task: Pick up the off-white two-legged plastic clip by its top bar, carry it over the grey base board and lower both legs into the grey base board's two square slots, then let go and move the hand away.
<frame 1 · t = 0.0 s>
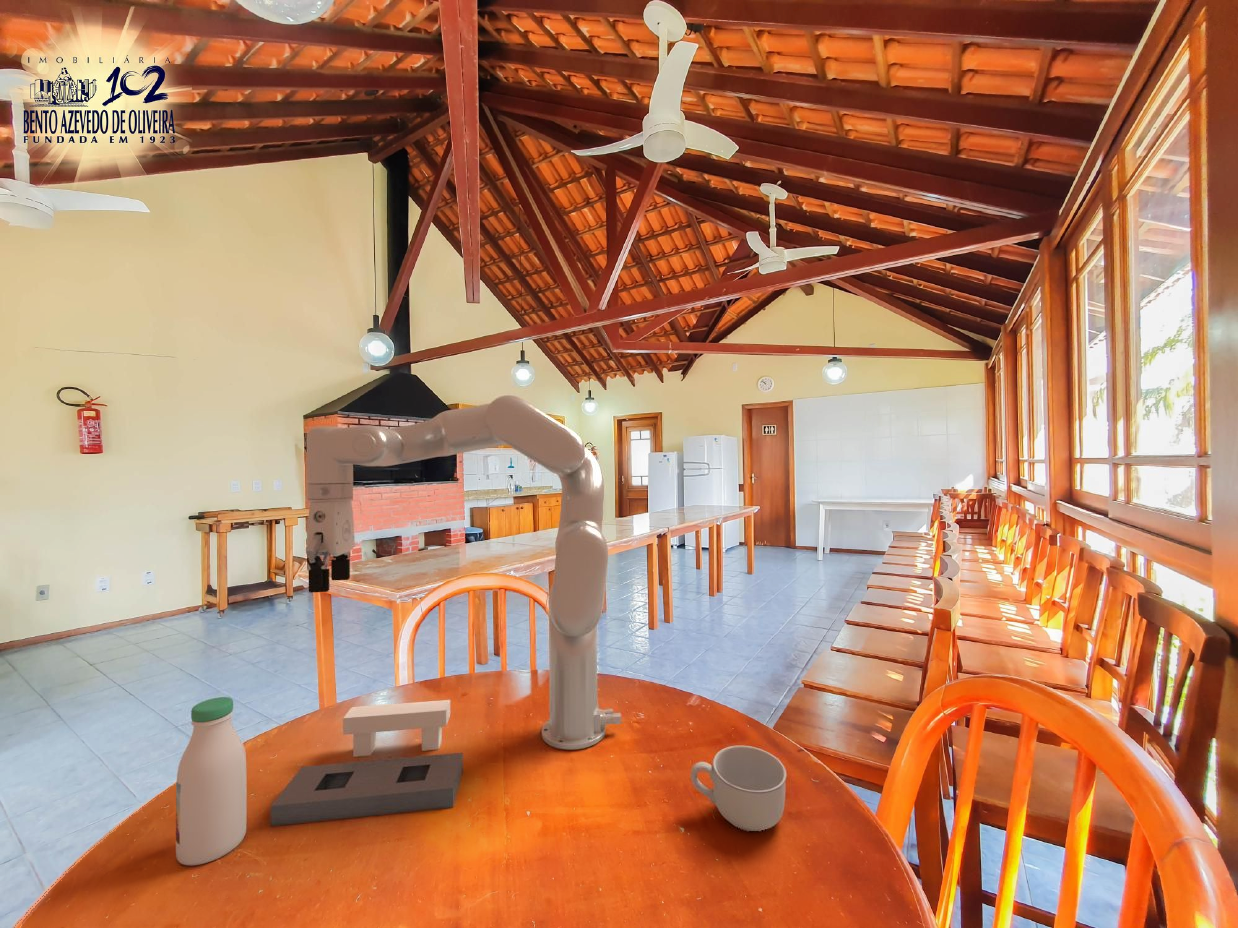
hand: (330, 585, 94), 31 cm above the table, tool pointing down, fingers open, 9 cm apart
teacup: (738, 817, 77), on the table
grey base board: (374, 795, 82), on the table
milk bottle: (212, 847, 71), on the table
clip: (398, 748, 96), on the table
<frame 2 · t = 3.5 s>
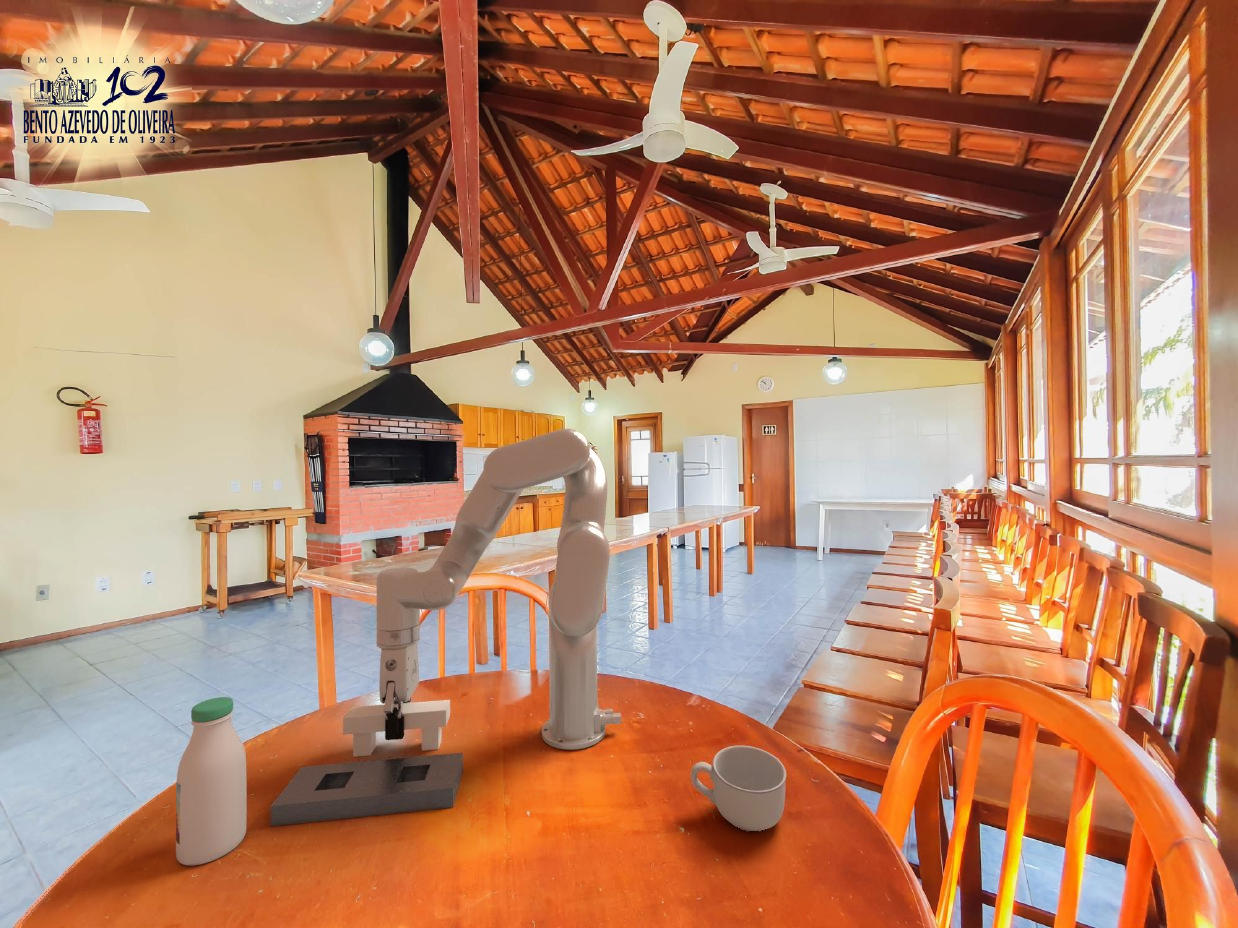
hand: (398, 730, 96), 3 cm above the table, tool pointing down, fingers closed on clip, 4 cm apart
clip: (398, 748, 96), on the table, touching gripper
everything else where it was.
when the fingers open (5 cm above the table, at t = 9.0 s): clip drops 1 cm, resting in grey base board.
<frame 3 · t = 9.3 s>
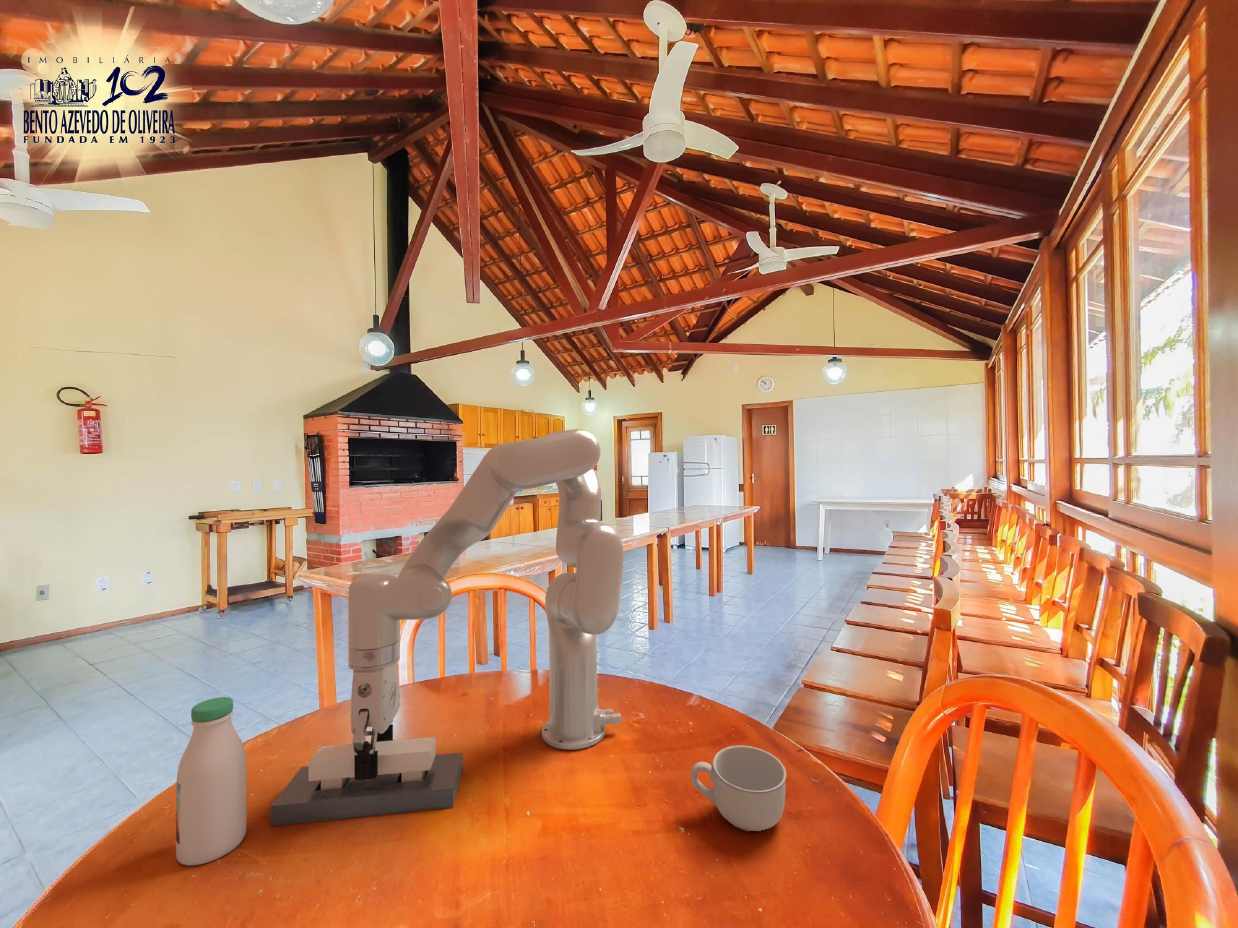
hand: (374, 762, 82), 5 cm above the table, tool pointing down, fingers open, 7 cm apart
clip: (374, 795, 82), resting in grey base board
everything else where it was.
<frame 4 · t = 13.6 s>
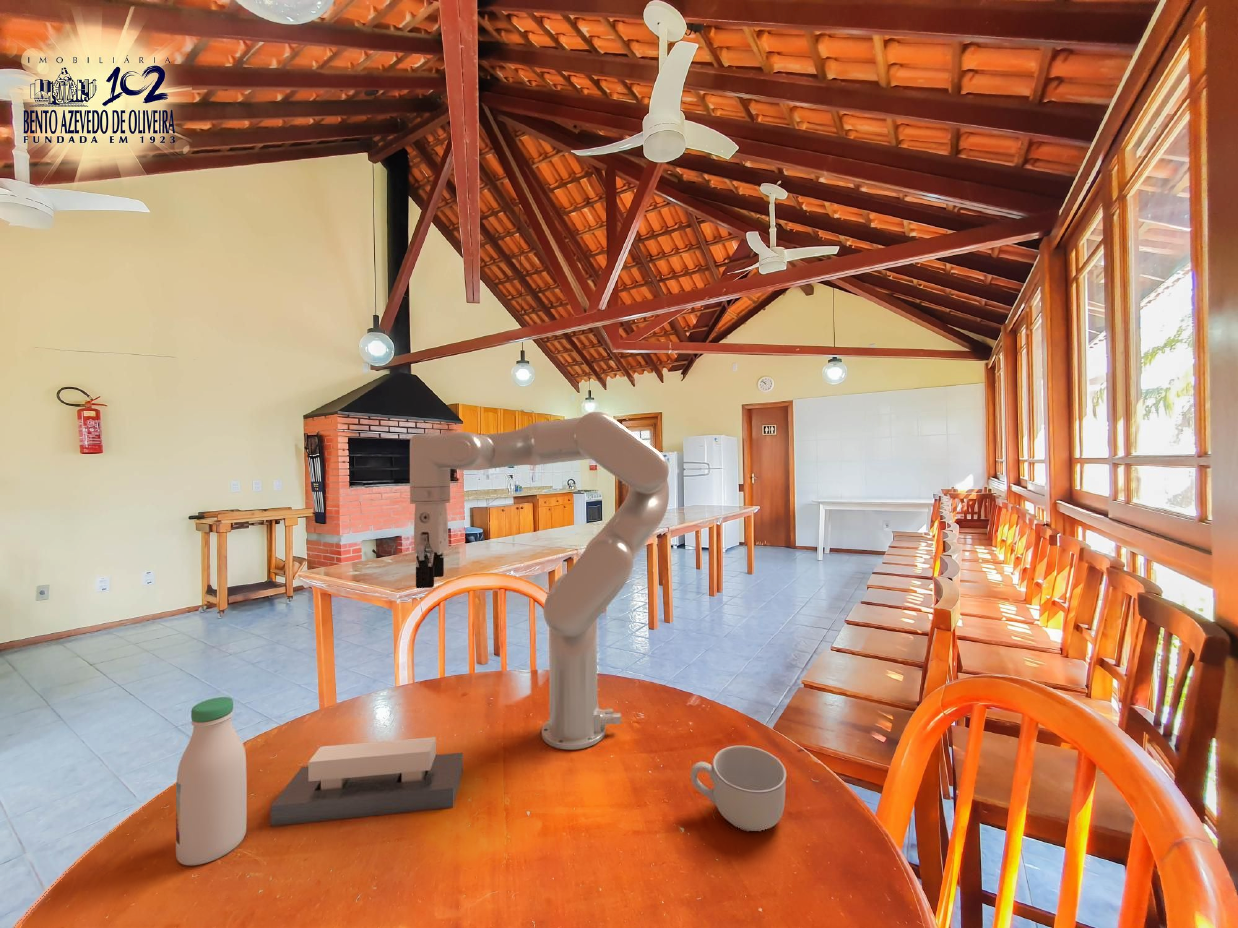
hand: (430, 581, 101), 30 cm above the table, tool pointing down, fingers open, 9 cm apart
nothing on the table moved.
at the end: clip 0.0 cm off-centre on the grey base board, point 0.0 cm above the grey base board's base; clip tilted 0°; the gripper is holding nothing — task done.
